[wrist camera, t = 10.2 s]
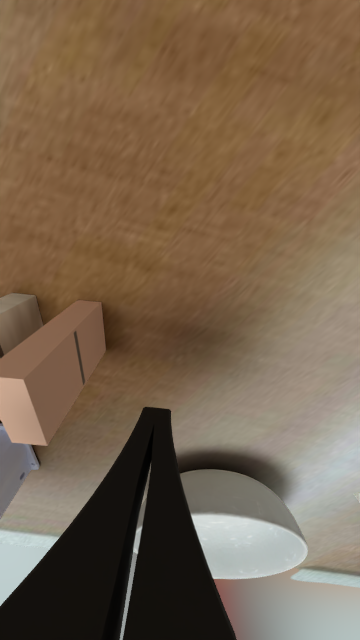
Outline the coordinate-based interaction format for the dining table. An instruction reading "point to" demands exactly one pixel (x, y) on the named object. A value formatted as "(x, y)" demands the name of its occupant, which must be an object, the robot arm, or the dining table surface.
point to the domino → (17, 320)
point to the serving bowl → (239, 525)
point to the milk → (357, 496)
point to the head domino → (50, 372)
